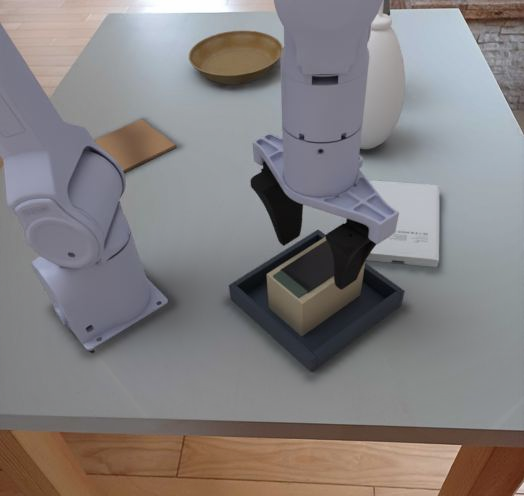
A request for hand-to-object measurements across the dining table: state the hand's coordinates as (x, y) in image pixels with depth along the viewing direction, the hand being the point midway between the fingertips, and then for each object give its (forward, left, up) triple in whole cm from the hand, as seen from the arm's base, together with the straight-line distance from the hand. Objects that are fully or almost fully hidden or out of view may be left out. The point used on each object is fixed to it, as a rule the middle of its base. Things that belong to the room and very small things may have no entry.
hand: (316, 260), depth 48 cm
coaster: (+1, +38, -6) cm, 39 cm away
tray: (0, 0, -6) cm, 6 cm away
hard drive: (+15, +2, -6) cm, 16 cm away
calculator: (0, 0, -6) cm, 6 cm away
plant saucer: (+25, +45, -6) cm, 52 cm away
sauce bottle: (+24, +16, -6) cm, 30 cm away
